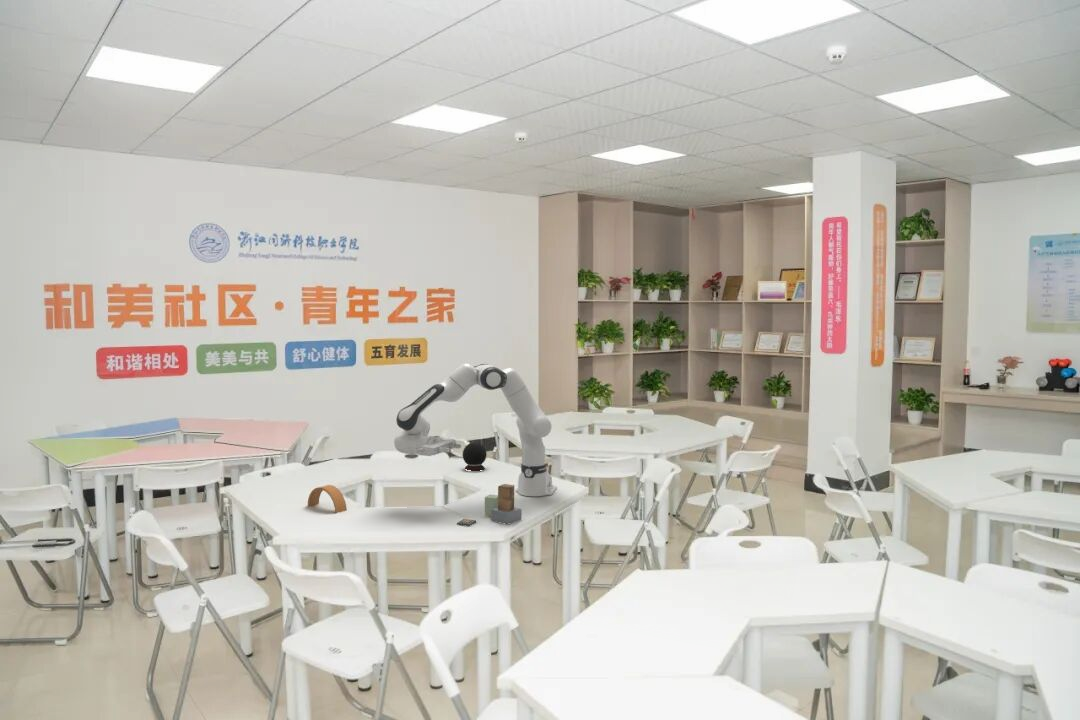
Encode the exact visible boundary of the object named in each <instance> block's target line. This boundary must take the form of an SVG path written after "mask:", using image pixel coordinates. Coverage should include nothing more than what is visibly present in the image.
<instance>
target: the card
mask: <svg viewBox="0 0 1080 720" xmlns="http://www.w3.org/2000/svg"><path fill="white" fill-rule="evenodd" d="M474 523H475V524H476V523H477V520H475V519H474V520H473V519H467V518H463V519H461V520H459V521H458V522H456V525H457V524H459V525H458V526H463V525H466V526H465V527H471V526H473V525H475V524H474ZM472 524H473V525H472ZM470 525H471V526H470Z"/></svg>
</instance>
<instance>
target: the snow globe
mask: <svg viewBox="0 0 1080 720" xmlns="http://www.w3.org/2000/svg"><path fill="white" fill-rule="evenodd" d="M487 455H488V454H487V450H486V447H484V445H483V444H482V443H479V442H470V443H468V444H467V445H466V446H465V447H464V448H463V450H462V454H461V456H462V459H463V461H464V463H465V464H466V465H465V467H464V468H465V469H467V470H471V471H480V470H484V469H486V468H485V466H484V465H482V464H484V463H485V462H486V459H487ZM484 471H485V470H484ZM480 472H481V471H480Z"/></svg>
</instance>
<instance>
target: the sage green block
mask: <svg viewBox="0 0 1080 720" xmlns="http://www.w3.org/2000/svg"><path fill="white" fill-rule="evenodd" d="M497 507H498V494H488V495H486V496H485V497H484V516H485V515H487V516H486V517H491V509H494V508H497Z"/></svg>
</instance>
